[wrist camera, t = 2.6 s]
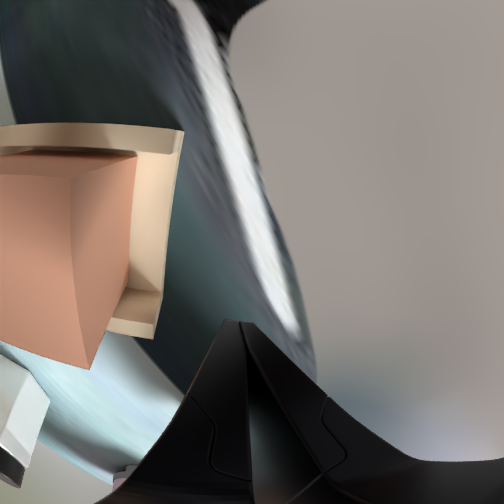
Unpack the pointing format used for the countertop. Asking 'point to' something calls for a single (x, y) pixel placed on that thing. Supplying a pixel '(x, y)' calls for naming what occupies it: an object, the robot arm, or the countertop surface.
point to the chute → (143, 205)
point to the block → (63, 249)
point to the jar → (18, 419)
